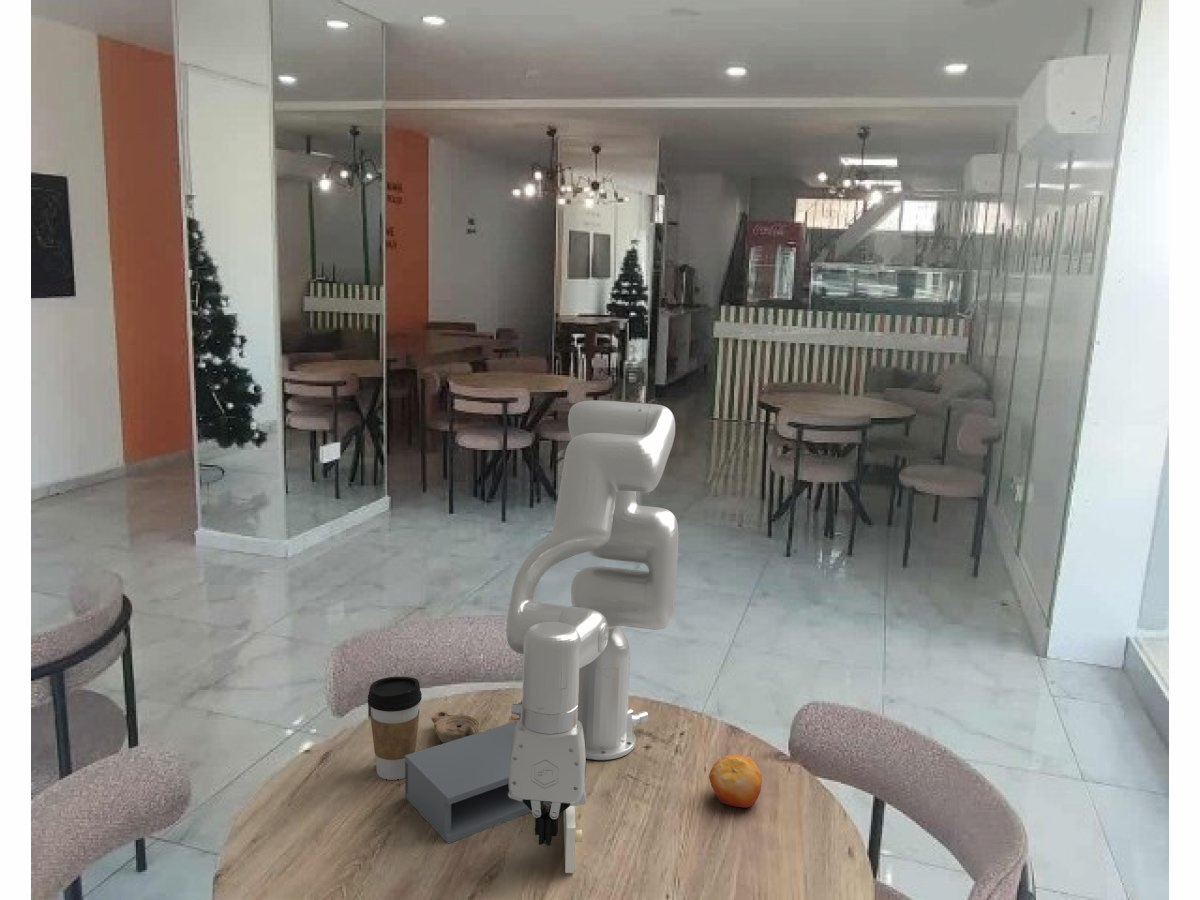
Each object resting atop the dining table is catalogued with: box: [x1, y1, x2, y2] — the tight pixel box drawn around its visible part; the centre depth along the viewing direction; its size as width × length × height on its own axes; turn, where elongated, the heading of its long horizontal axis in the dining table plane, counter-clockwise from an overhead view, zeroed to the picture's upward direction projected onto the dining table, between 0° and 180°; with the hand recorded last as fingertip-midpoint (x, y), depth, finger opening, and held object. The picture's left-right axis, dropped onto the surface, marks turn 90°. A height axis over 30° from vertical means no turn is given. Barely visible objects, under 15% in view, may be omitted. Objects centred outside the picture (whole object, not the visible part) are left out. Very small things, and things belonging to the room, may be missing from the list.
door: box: [562, 806, 583, 874], centre depth 130 cm, size 18×2×7 cm, turn 3°
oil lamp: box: [431, 710, 481, 744], centre depth 155 cm, size 13×8×5 cm, turn 36°
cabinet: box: [404, 720, 552, 844], centre depth 138 cm, size 20×14×7 cm
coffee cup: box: [367, 676, 423, 781], centre depth 144 cm, size 8×8×15 cm
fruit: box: [708, 753, 763, 809], centre depth 141 cm, size 8×8×8 cm
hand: (546, 839), depth 124 cm, fingers closed
